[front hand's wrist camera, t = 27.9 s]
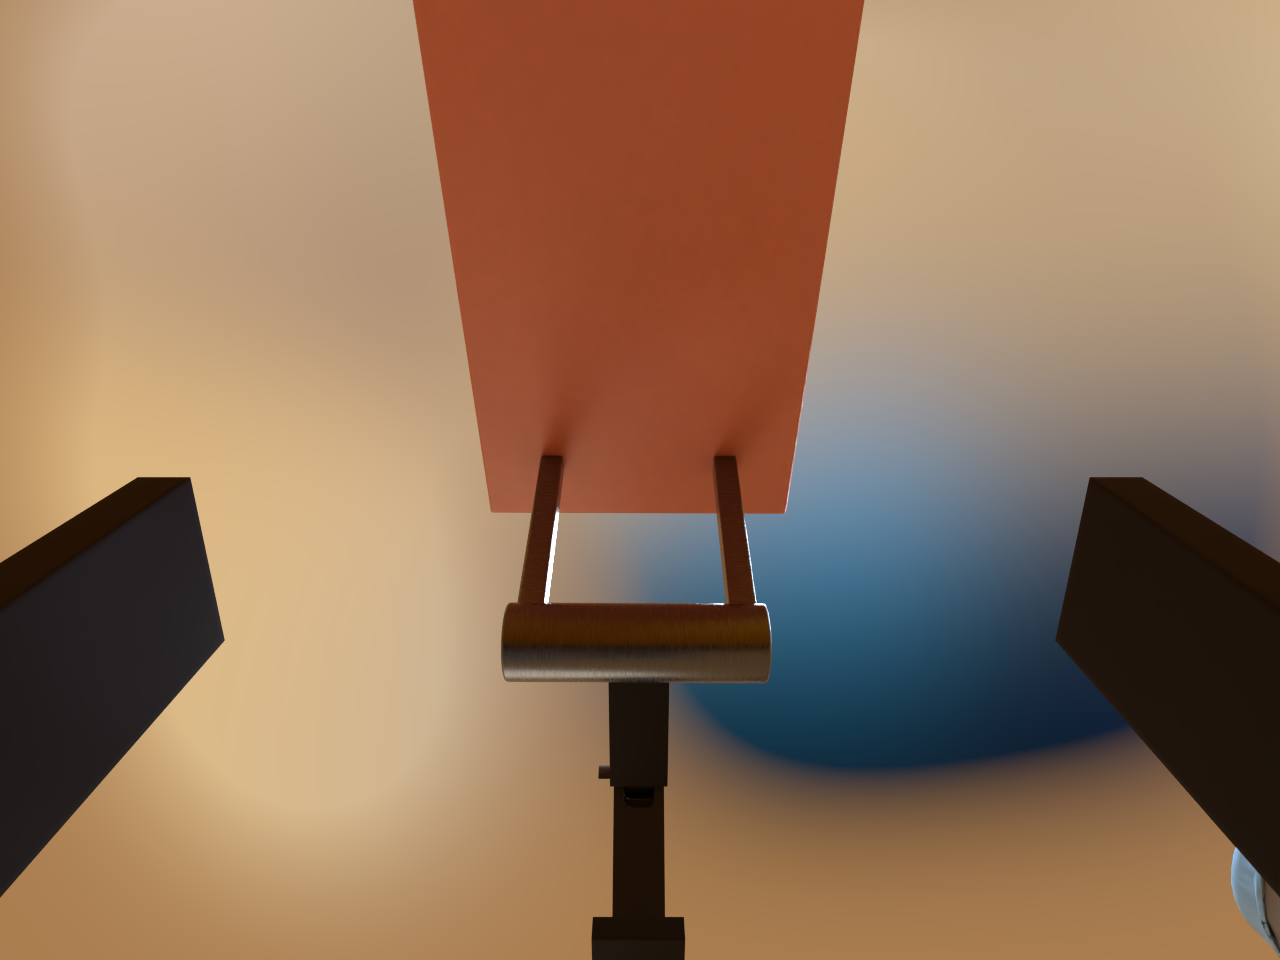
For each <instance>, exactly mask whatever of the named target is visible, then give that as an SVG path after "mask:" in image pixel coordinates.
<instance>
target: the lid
mask: <svg viewBox="0 0 1280 960" xmlns="http://www.w3.org/2000/svg"><path fill="white" fill-rule="evenodd" d="M413 5H414V11H415V18H416V24H417V31H418V38H419V44H420V51H421V57H422V64H423V70H424V77H425V83H426V89H427V96H428V103H429V109H430V116H431V122H432V129H433V135H434V142H435V149H436V155H437V161H438V168H439V175H440V181H441V187H442V194H443V201H444V207H445V214H446V220H447V227H448V233H449V240H450V246H451V253H452V259H453V266H454V273H455V279H456V286H457V292H458V299H459V305H460V312H461V318H462V325H463V331H464V338H465V344H466V351H467V357H468V364H469V371H470V377H471V384H472V390H473V397H474V403H475V410H476V416H477V423H478V429H479V436H480V442H481V449H482V456H483V462H484V469H485V475H486V482H487V488H488V495H489V501H490V508H491V511H492V512H512V513H513V512H514V513H532V515H531V521H530V527H529V534H528V540H527V546H526V553H525V559H524V565H523V571H522V578H521V584H520V590H519V597H518V603H509V604H508V605H507V607H506V610H505V613H504V618H503V625H502V637H501V661H502V671H503V676H504V678H505V680H506V681H508V682H679V683H685V682H686V683H765V682H767V681H768V678H769V675H770V669H771V629H770V620H769V614H768V610H767V608H766V606H765V605H764V604H756V598H755V591H754V583H753V576H752V569H751V562H750V554H749V547H748V540H747V533H746V526H745V519H744V513H757V514H758V513H759V514H784V513H785V512H786V507H787V501H788V494H789V488H790V481H791V475H792V468H793V461H794V455H795V449H796V442H797V435H798V429H799V423H800V416H801V410H802V403H803V396H804V390H805V383H806V377H807V370H808V364H809V357H810V351H811V344H812V338H813V331H814V325H815V318H816V312H817V305H818V299H819V292H820V286H821V279H822V273H823V266H824V260H825V253H826V247H827V240H828V234H829V227H830V221H831V214H832V207H833V201H834V194H835V188H836V181H837V175H838V168H839V162H840V155H841V149H842V142H843V136H844V129H845V123H846V116H847V110H848V103H849V97H850V90H851V84H852V77H853V71H854V64H855V57H856V51H857V44H858V38H859V31H860V25H861V18H862V12H863V5H864V0H413ZM559 513H717V521H718V531H719V541H720V551H721V560H722V571H723V581H724V590H725V600H726V604H694V603H693V604H691V603H548V599H549V590H550V582H551V574H552V566H553V557H554V549H555V541H556V533H557V524H558V516H559Z"/></svg>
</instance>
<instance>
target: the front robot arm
mask: <svg viewBox="0 0 1280 960" xmlns="http://www.w3.org/2000/svg"><path fill="white" fill-rule="evenodd" d="M223 642H224V635H223V631H222V626H221V621H220V616H219V611H218V607H217V602H216V597H215V593H214V588H213V583H212V578H211V574H210V569H209V564H208V559H207V555H206V550H205V545H204V540H203V536H202V531H201V526H200V521H199V517H198V512H197V507H196V502H195V498H194V493H193V488H192V483H191V479H190V477H137V478H136V479H134V480H133V481H131V482H129V483H128V484H126V485H125V486H123V487H121V488H120V489H118V490H117V491H115V492H113V493H112V494H110V495H109V496H107V497H105V498H104V499H102V500H101V501H99V502H97V503H96V504H94V505H93V506H91V507H89V508H88V509H86V510H84V511H83V512H81V513H80V514H78V515H76V516H75V517H73V518H72V519H70V520H68V521H67V522H65V523H64V524H62V525H61V526H59V527H57V528H56V529H54V530H52V531H51V532H49V533H48V534H46V535H44V536H43V537H41V538H40V539H38V540H36V541H35V542H33V543H32V544H30V545H28V546H27V547H25V548H23V549H22V550H20V551H19V552H17V553H15V554H14V555H12V556H11V557H9V558H7V559H6V560H4V561H3V562H1V563H0V897H1V896H2V895H3V894H4V893H5V891H6V890H7V889H8V888H9V887H10V886H11V885H12V883H13V882H14V881H15V880H16V879H17V878H18V876H19V875H20V874H21V873H22V872H23V871H24V870H25V868H26V867H27V866H28V865H29V864H30V863H31V862H32V860H33V859H34V858H35V857H36V856H37V855H38V854H39V852H40V851H41V850H42V849H43V848H44V847H45V846H46V844H47V843H48V842H49V841H50V840H51V839H52V838H53V836H54V835H55V834H56V833H57V832H58V831H59V829H60V828H61V827H62V826H63V825H64V824H65V823H66V822H67V820H68V819H69V818H70V817H71V816H72V815H73V813H74V812H75V811H76V810H77V809H78V808H79V807H80V805H81V804H82V803H83V802H84V801H85V800H86V799H87V797H88V796H89V795H90V794H91V793H92V792H93V791H94V789H95V788H96V787H97V786H98V785H99V784H100V782H101V781H102V780H103V779H104V778H105V777H106V776H107V775H108V773H109V772H110V771H111V770H112V769H113V768H114V767H115V765H116V764H117V763H118V762H119V761H120V760H121V758H122V757H123V756H124V755H125V754H126V753H127V752H128V750H129V749H130V748H131V747H132V746H133V745H134V744H135V742H136V741H137V740H138V739H139V738H140V737H141V736H142V734H143V733H144V732H145V731H146V730H147V729H148V728H149V726H150V725H151V724H152V723H153V722H154V721H155V720H156V718H157V717H158V716H159V715H160V714H161V713H162V712H163V710H164V709H165V708H166V707H167V706H168V705H169V704H170V702H171V701H172V700H173V699H174V698H175V697H176V696H177V694H178V693H179V692H180V691H181V690H182V689H183V687H184V686H185V685H186V684H187V683H188V682H189V681H190V679H191V678H192V677H193V676H194V675H195V674H196V673H197V671H198V670H199V669H200V668H201V667H202V666H203V665H204V663H205V662H206V661H207V660H208V659H209V658H210V657H211V655H212V654H213V653H214V652H215V651H216V650H217V649H218V647H219V646H220V645H221V644H222V643H223ZM1056 642H1057V643H1058V644H1059V645H1060V646H1061V647H1062V649H1063V650H1064V651H1065V652H1066V653H1067V654H1068V655H1069V657H1070V658H1071V659H1072V660H1073V661H1074V662H1075V663H1076V665H1077V666H1078V667H1079V668H1080V669H1081V670H1082V671H1083V673H1084V674H1085V675H1086V676H1087V677H1088V678H1089V679H1090V681H1091V682H1092V683H1093V684H1094V685H1095V686H1096V688H1097V689H1098V690H1099V691H1100V692H1101V693H1102V694H1103V696H1104V697H1105V698H1106V699H1107V700H1108V701H1109V702H1110V704H1111V705H1112V706H1113V707H1114V708H1115V709H1116V710H1117V712H1118V713H1119V714H1120V715H1121V716H1122V717H1123V718H1124V720H1125V721H1126V722H1127V723H1128V724H1129V725H1130V726H1131V728H1132V729H1133V730H1134V731H1135V732H1136V733H1137V734H1138V736H1139V737H1140V738H1141V739H1142V740H1143V741H1144V742H1145V744H1146V745H1147V746H1148V747H1149V748H1150V749H1151V750H1152V752H1153V753H1154V754H1155V755H1156V756H1157V757H1158V758H1159V760H1160V761H1161V762H1162V763H1163V764H1164V765H1165V767H1166V768H1167V769H1168V770H1169V771H1170V772H1171V773H1172V775H1173V776H1174V777H1175V778H1176V779H1177V780H1178V781H1179V783H1180V784H1181V785H1182V786H1183V787H1184V788H1185V789H1186V791H1187V792H1188V793H1189V794H1190V795H1191V796H1192V797H1193V799H1194V800H1195V801H1196V802H1197V803H1198V804H1199V805H1200V807H1201V808H1202V809H1203V810H1204V811H1205V812H1206V813H1207V815H1208V816H1209V817H1210V818H1211V819H1212V820H1213V821H1214V823H1215V824H1216V825H1217V826H1218V827H1219V828H1220V830H1221V831H1222V832H1223V833H1224V834H1225V835H1226V836H1227V837H1228V839H1229V840H1230V841H1231V842H1232V843H1233V844H1234V846H1235V847H1236V848H1237V849H1238V850H1239V851H1240V852H1241V854H1242V855H1243V856H1244V857H1245V858H1246V859H1247V860H1248V862H1249V863H1250V864H1251V865H1252V866H1253V867H1254V868H1255V870H1256V871H1257V872H1258V873H1259V874H1260V875H1261V876H1262V878H1263V879H1264V880H1265V881H1266V882H1267V883H1268V885H1269V886H1270V887H1271V888H1272V889H1273V890H1274V891H1275V893H1276V894H1277V895H1278V896H1279V897H1280V563H1279V562H1277V561H1276V560H1274V559H1273V558H1271V557H1269V556H1268V555H1266V554H1264V553H1263V552H1261V551H1260V550H1258V549H1256V548H1255V547H1253V546H1252V545H1250V544H1248V543H1247V542H1245V541H1244V540H1242V539H1240V538H1239V537H1237V536H1236V535H1234V534H1232V533H1231V532H1229V531H1228V530H1226V529H1224V528H1223V527H1221V526H1220V525H1218V524H1216V523H1215V522H1213V521H1212V520H1210V519H1208V518H1207V517H1205V516H1204V515H1202V514H1200V513H1199V512H1197V511H1196V510H1194V509H1192V508H1191V507H1189V506H1187V505H1186V504H1184V503H1183V502H1181V501H1179V500H1178V499H1176V498H1175V497H1173V496H1171V495H1170V494H1168V493H1167V492H1165V491H1163V490H1162V489H1160V488H1159V487H1157V486H1155V485H1154V484H1152V483H1151V482H1149V481H1147V480H1146V479H1144V478H1142V477H1090V479H1089V484H1088V488H1087V493H1086V498H1085V502H1084V507H1083V512H1082V517H1081V521H1080V526H1079V531H1078V536H1077V540H1076V545H1075V550H1074V554H1073V559H1072V564H1071V569H1070V574H1069V578H1068V583H1067V588H1066V592H1065V597H1064V602H1063V607H1062V612H1061V616H1060V621H1059V626H1058V630H1057V635H1056Z"/></svg>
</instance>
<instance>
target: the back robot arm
mask: <svg viewBox="0 0 1280 960" xmlns="http://www.w3.org/2000/svg"><path fill="white" fill-rule="evenodd" d="M668 717H669V682H609V739H610V766H599V779H610V786H614V830H613V916H612V917H593V925H592V960H684V957H685V931H684V917H665V881H664V880H665V879H664V786H667V777H668ZM1231 883H1232V890H1233V894H1234V898H1235V901H1236V904H1237V906H1238V908H1239V910H1240V912H1241V913H1242V915H1243V917H1244V918H1245V919H1246V921H1247V922H1248V923H1249V925H1250V926H1251V927H1252V928H1253V929H1254V930H1255V931H1256V932H1257V933H1258V934H1259V935H1260V936H1261V937H1262V938H1263V939H1264V940H1265V941H1266V942H1267V943H1268V944H1269V945H1270V946H1271V947H1272V948H1273V949H1274V950H1275V952H1276V953H1277V955H1278V956H1279V957H1280V897H1279V896H1278V895H1277V894H1276V893H1275V891H1274V890H1273V889H1272V888H1271V887H1270V886H1269V885H1268V883H1267V882H1266V881H1265V880H1264V879H1263V878H1262V876H1261V875H1260V874H1259V873H1258V872H1257V871H1256V870H1255V868H1254V867H1253V866H1252V865H1251V864H1250V863H1249V862H1248V860H1247V859H1246V858H1245V857H1244V856H1243V855H1242V854H1241V852H1240V851H1239V850H1238V849H1237V848H1236V847H1235V851H1234V855H1233V860H1232V868H1231Z"/></svg>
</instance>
